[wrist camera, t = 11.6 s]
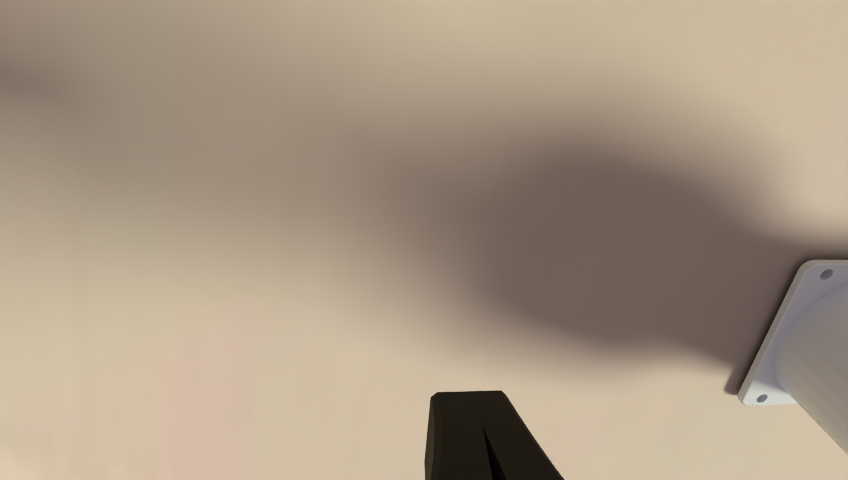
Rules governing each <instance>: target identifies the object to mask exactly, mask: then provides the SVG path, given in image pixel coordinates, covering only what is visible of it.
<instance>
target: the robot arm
mask: <svg viewBox="0 0 848 480" xmlns="http://www.w3.org/2000/svg"><path fill="white" fill-rule="evenodd" d="M737 397H738V399H739V400H740V402H741V403H742V404H744V405H747V406H753V405H783V404H799V405H800V406H801V407H802V408H803V409H804V410H805V411H806V412H807V413H808V414H809V415H810V416H811V417H812V418H813V419H814V420H815V421H816V422H817V424H818V425H819V426H820V427H821V428H822V429H823V430H824V431H825V432H826V433H827V434H828V435H829V436H830V437H831V438H832V439H833V440H834V441H835V442H836V443H837V444H838V445H839V446H840V447H841V448H842V449H843V450H844V451H845V453H846V454H847V455H848V260H810V261H808V262H805V263H804V264H803V265H801V267H800V268H799V269H798V272H797V274H796V276H795V278H794V280H793V282H792V284H791V286H790V288H789V290H788V292H787V294H786V296H785V298H784V300H783V302H782V304H781V306H780V308H779V311H778V313H777V315H776V317H775V319H774V321H773V323H772V325H771V327H770V329H769V331H768V333H767V335H766V337H765V339H764V341H763V343H762V345H761V348H760V350H759V352H758V354H757V356H756V358H755V360H754V362H753V364H752V366H751V368H750V370H749V372H748V374H747V376H746V378H745V380H744V382H743V384H742V387H741V389H740V391H739V393H738V396H737ZM425 480H564V479H563V477H562V476H561V475H560V473H559V472H558V471H557V469H556V468H555V467H554V465H553V464H552V463H551V461H550V460H549V458H548V457H547V456H546V454H545V453H544V451H543V450H542V448H541V447H540V446H539V444H538V443H537V441H536V440H535V438H534V437H533V436H532V434H531V433H530V431H529V430H528V428H527V427H526V425H525V424H524V422H523V421H522V419H521V418H520V416H519V415H518V413H517V411H516V410H515V408H514V407H513V405H512V404H511V402H510V401H509V399H508V397H507V396H506V395H505V394H504V393H503V392H502V391H468V392H437V393H436V394H434V395H433V396H432V397H431V400H430V410H429V421H428V431H427V442H426V452H425Z"/></svg>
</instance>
